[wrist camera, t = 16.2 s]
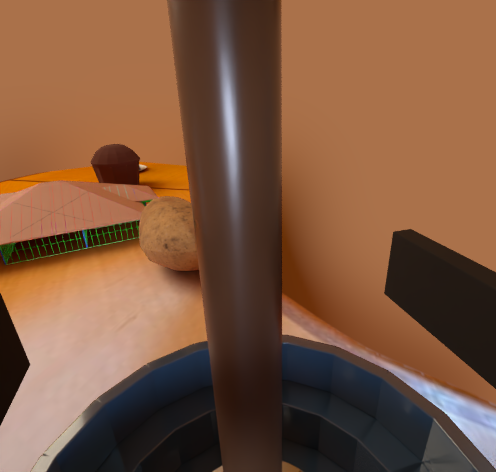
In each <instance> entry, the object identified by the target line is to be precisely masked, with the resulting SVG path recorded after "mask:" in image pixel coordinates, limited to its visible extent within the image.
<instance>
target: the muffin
mask: <svg viewBox="0 0 496 472" xmlns="http://www.w3.org/2000/svg"><path fill="white" fill-rule="evenodd" d="M139 160H140V157H138V155H137V154H136V153H135V152H134V151H133V150H131V149H130V148H128V147H126V146H125V145H120V144H112V145H106V146H103V147H101V148H100V149H99V150H97V151H96V152H95V154H94V156H93V158H92V160H91V164H92V165H93V168H94V171H95V173H96V176H97V178H98V181H99V183H109V184H126V185H138V184H139Z"/></svg>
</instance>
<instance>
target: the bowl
mask: <svg viewBox="0 0 496 472" xmlns="http://www.w3.org/2000/svg"><path fill="white" fill-rule="evenodd" d="M282 461H285V462H288V463H290V464H292V465H294V466H295V467H297V468H299V469H300V470H302V471H303V472H496V469H495V468H494V467H493V466H492V465H491V464H490V462H489V461H488V460H487V459H486V458H485V457H484V456H483V455H482V453H481V452H480V451H479V450H478V449H477V448H476V447H475V446H474V445H473V443H472V442H471V441H470V440H469V439H468V438H467V437H466V436H465V435H464V433H463V432H462V431H461V430H460V429H459V428H458V427H457V426H456V424H455V423H454V422H453V421H452V420H451V419H450V418H449V417H448V416H447V414H445V413H444V412H443V411H442V410H440V409H439V408H438V407H436V406H435V405H434V404H432V403H431V402H430V401H428V400H427V399H426V398H424V397H423V396H422V395H420V394H419V393H418V392H416V391H415V390H414V389H412V388H411V387H410V386H408V385H407V384H406V383H404V382H403V381H402V380H400V379H399V378H398V377H396V376H395V375H394V374H392V373H391V372H389V371H388V370H386V369H384V368H382V367H379V366H377V365H375V364H373V363H371V362H369V361H367V360H365V359H363V358H360V357H358V356H356V355H354V354H352V353H350V352H348V351H346V350H344V349H341V348H339V347H336V346H332V345H328V344H324V343H320V342H315V341H311V340H307V339H303V338H299V337H294V336H289V335H282ZM220 466H222V458H221V450H220V441H219V433H218V424H217V416H216V407H215V399H214V391H213V382H212V374H211V365H210V357H209V348H208V341H204V342H199V343H195V344H192V345H189V346H187V347H185V348H182V349H180V350H178V351H175V352H173V353H171V354H168V355H166V356H164V357H161V358H159V359H157V360H154V361H152V362H150V363H147V365H144V366H143V367H141V368H140V369H138V370H137V371H135V372H134V373H133V374H131V375H130V376H128V377H127V378H125V379H124V380H122V381H121V382H120V383H118V384H117V385H115V386H114V387H112V388H111V389H109V390H108V391H107V392H105V393H104V394H102V395H101V396H99V397H98V398H97V399H96V400H94V401H93V402H92V403H91V404H90V405H89V406H88V407H87V408H86V410H85V411H84V412H83V413H82V414H81V415H80V416H79V417H78V418H77V419H76V420H75V421H74V422H73V423H72V424H71V425H70V426H69V427H68V428H67V429H66V430H65V431H64V432H63V433H62V434H61V435H60V436H59V437H58V438H57V439H56V441H55V442H54V443H53V444H52V445H51V446H50V447H49V448H48V449H47V450H46V451H45V452H44V453H43V455H41V456H40V458H39V459H38V461H37V462H36V464H35V465H34V467H33V468H32V470H31V471H30V472H212V471H214V470H215V469H217V468H218V467H220Z"/></svg>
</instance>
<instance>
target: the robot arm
mask: <svg viewBox="0 0 496 472" xmlns="http://www.w3.org/2000/svg"><path fill="white" fill-rule="evenodd" d="M384 293H385V295H387V296H388V297H389V298H390V299H391V300H392V301H394V302H395V303H396V304H397V305H398V306H399V307H401V308H402V309H403V310H404V311H405V312H407V313H408V314H409V315H410V316H411V317H412V318H413V319H415V320H416V321H417V322H418V323H419V324H421V325H422V326H423V327H424V328H425V329H426V330H427V331H429V332H430V333H431V334H432V335H433V336H435V337H436V338H437V339H438V340H439V341H440V342H442V343H443V344H444V345H445V346H446V347H448V348H449V349H450V350H451V351H452V352H453V353H454V354H456V355H457V356H458V357H459V358H460V359H461V360H463V361H464V362H465V363H466V364H468V366H470V367H471V368H472V369H473V370H474V371H476V372H477V373H478V374H479V375H480V376H481V377H483V378H484V379H485V380H486V381H487V382H488V383H489V384H491V385H492V386H493V387H494V388H495V389H496V272H494V271H492V270H490V269H488V268H486V267H484V266H482V265H480V264H478V263H476V262H474V261H472V260H471V259H469V258H467V257H465V256H463V255H460V254H459V253H457V252H455V251H453V250H451V249H449V248H447V247H445V246H443V245H441V244H439V243H437V242H435V241H433V240H431V239H429V238H427V237H425V236H423V235H421V234H419V233H417V232H415V231H414V230H411V229H409V230H402V231H396V232H393V238H392V245H391V251H390V259H389V266H388V272H387V279H386V285H385V292H384ZM29 366H30V363H29V360H28V358H27V356H26V353H25V351H24V348H23V346H22V344H21V341H20V339H19V336H18V334H17V332H16V329H15V327H14V324H13V322H12V320H11V317H10V315H9V312H8V310H7V308H6V305H5V303H4V300H3V298H2V296H1V293H0V425H1V423H2V421H3V419H4V417H5V415H6V413H7V411H8V409H9V407H10V405H11V403H12V401H13V399H14V397H15V395H16V393H17V391H18V389H19V386H20V384H21V382H22V380H23V378H24V376H25V374H26V372H27V370H28V368H29Z"/></svg>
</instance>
